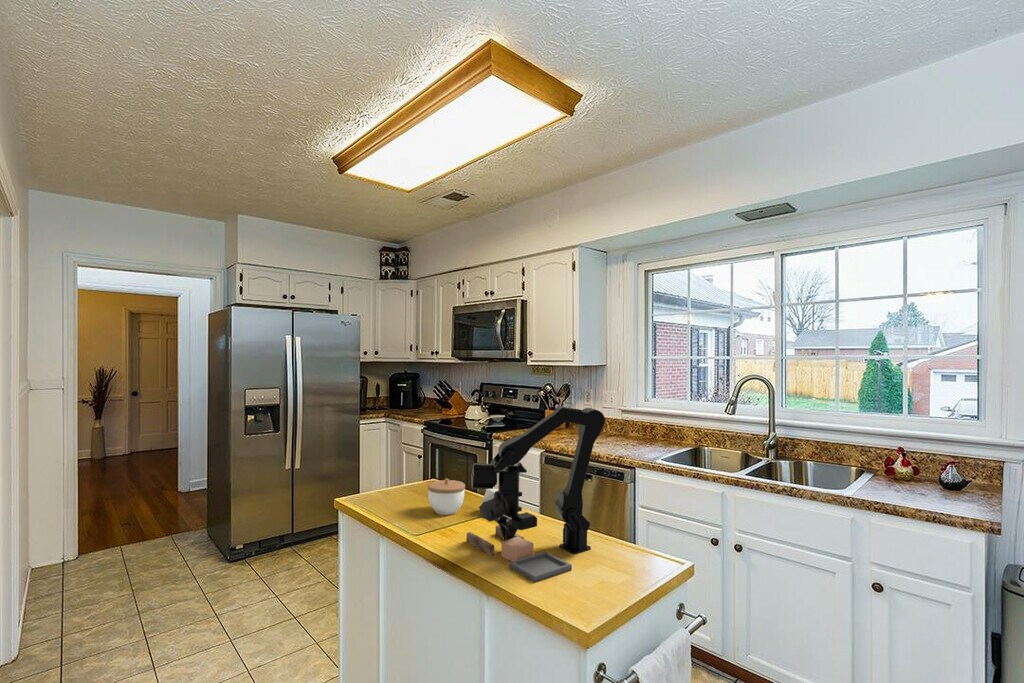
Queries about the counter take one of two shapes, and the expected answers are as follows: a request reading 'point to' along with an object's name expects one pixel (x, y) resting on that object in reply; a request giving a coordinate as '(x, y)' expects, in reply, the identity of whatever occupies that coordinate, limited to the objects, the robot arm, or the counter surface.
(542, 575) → the tray
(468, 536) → the corridor rails
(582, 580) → the counter surface
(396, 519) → the counter surface
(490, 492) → the die
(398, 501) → the counter surface
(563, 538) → the robot arm
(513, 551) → the block
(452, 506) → the lidded bowl
